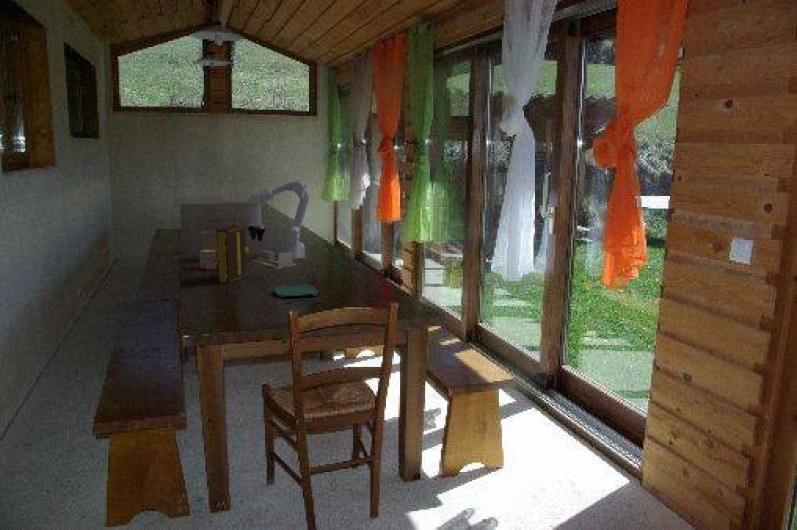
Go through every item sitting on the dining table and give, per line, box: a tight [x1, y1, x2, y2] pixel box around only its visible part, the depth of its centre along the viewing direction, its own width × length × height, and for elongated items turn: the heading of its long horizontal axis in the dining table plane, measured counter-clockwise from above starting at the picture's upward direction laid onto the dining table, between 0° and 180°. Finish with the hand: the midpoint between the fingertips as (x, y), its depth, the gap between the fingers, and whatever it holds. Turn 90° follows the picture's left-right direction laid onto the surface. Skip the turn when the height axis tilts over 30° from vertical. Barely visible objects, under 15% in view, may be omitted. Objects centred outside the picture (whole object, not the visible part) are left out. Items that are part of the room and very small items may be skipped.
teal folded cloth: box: [272, 283, 323, 306], centre depth 275 cm, size 20×30×2 cm, turn 17°
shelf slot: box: [251, 251, 299, 269], centre depth 346 cm, size 14×26×8 cm, turn 40°
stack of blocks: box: [198, 246, 218, 270], centre depth 331 cm, size 21×6×12 cm, turn 85°
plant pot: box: [200, 229, 217, 250], centre depth 353 cm, size 15×15×16 cm
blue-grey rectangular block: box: [259, 249, 276, 261], centre depth 352 cm, size 4×10×5 cm, turn 40°
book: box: [216, 224, 250, 284], centre depth 307 cm, size 22×8×25 cm, turn 168°
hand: (256, 240), depth 359 cm, fingers open, 7 cm apart
